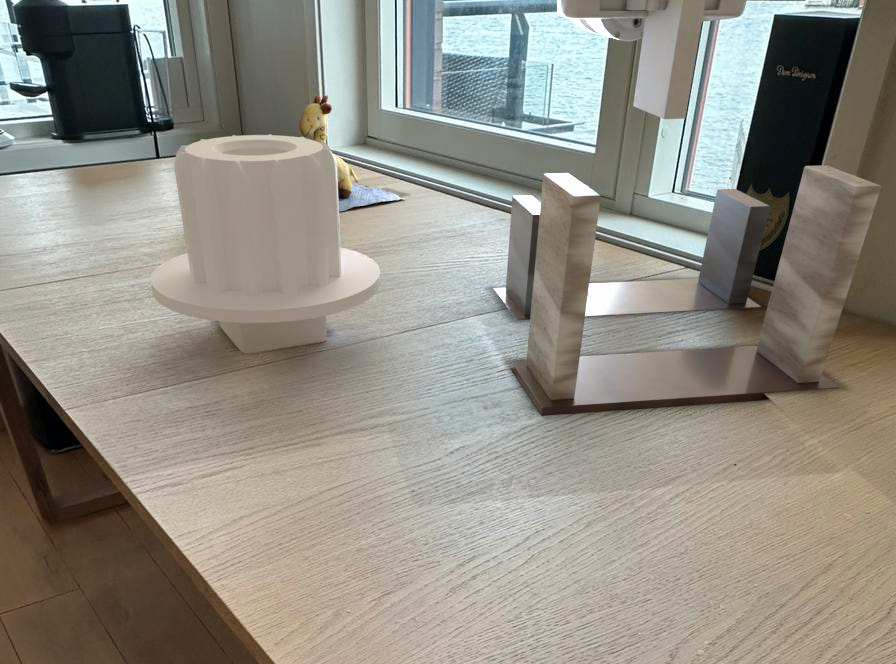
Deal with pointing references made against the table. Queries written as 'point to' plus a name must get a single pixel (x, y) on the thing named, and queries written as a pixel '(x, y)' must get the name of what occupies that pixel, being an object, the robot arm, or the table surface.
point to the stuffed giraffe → (340, 160)
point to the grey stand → (716, 287)
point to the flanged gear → (262, 242)
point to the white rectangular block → (668, 58)
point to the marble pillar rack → (700, 370)
